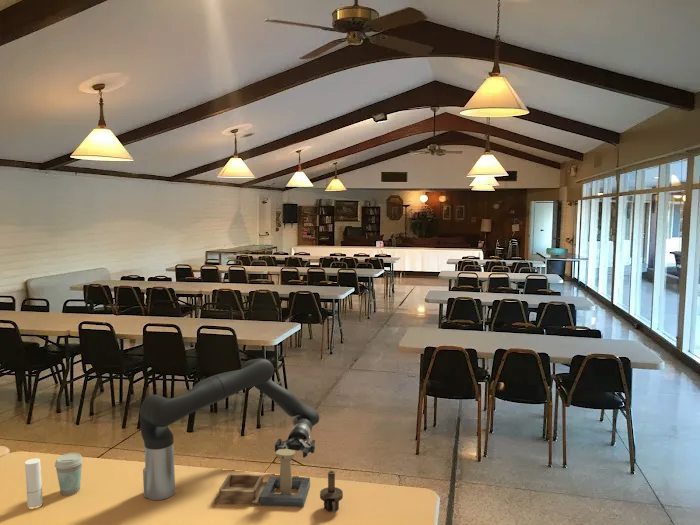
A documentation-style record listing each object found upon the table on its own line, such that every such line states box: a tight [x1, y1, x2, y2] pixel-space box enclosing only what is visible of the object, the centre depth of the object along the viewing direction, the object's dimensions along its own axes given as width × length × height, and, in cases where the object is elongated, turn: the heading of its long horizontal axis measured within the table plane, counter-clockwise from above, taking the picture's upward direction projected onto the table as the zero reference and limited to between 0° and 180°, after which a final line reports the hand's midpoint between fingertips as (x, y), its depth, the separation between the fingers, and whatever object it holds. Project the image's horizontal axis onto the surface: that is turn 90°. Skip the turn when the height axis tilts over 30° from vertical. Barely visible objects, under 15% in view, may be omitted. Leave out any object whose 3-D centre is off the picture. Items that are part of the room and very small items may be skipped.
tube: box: [24, 457, 44, 508], centre depth 187 cm, size 4×4×15 cm
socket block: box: [259, 476, 311, 508], centre depth 194 cm, size 14×14×3 cm
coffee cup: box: [54, 452, 84, 496], centre depth 196 cm, size 8×9×12 cm
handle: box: [275, 448, 296, 494], centre depth 193 cm, size 5×6×15 cm
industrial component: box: [319, 470, 344, 513], centre depth 186 cm, size 9×7×12 cm
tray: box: [214, 473, 267, 506], centre depth 195 cm, size 14×14×4 cm
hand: (291, 454), depth 204 cm, fingers open, 8 cm apart
